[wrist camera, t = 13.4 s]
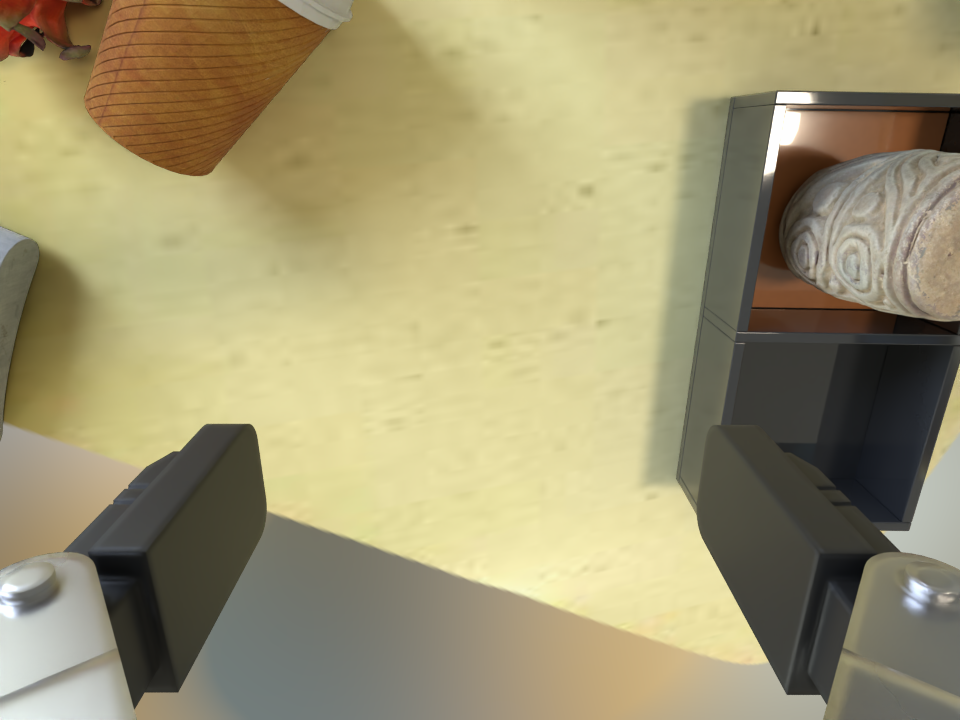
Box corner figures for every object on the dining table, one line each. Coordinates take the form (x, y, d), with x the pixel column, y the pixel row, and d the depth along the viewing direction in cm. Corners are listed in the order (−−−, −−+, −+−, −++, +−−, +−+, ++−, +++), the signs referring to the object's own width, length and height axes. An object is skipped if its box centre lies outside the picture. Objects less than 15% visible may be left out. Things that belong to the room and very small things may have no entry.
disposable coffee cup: (213, 118, 37) (322, -66, 33) (264, 221, 33) (398, 26, 28) (28, 36, 30) (134, -220, 25) (62, 155, 25) (198, -126, 21)
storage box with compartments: (730, 96, 34) (776, 90, 28) (954, 100, 34) (1041, 94, 28) (675, 478, 42) (703, 528, 37) (855, 481, 42) (909, 531, 37)
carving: (911, 169, 34) (1122, 187, 23) (840, 295, 37) (999, 367, 25) (810, 129, 33) (976, 127, 22) (744, 260, 36) (864, 317, 25)
